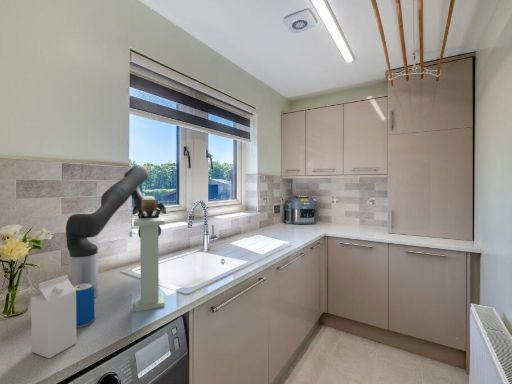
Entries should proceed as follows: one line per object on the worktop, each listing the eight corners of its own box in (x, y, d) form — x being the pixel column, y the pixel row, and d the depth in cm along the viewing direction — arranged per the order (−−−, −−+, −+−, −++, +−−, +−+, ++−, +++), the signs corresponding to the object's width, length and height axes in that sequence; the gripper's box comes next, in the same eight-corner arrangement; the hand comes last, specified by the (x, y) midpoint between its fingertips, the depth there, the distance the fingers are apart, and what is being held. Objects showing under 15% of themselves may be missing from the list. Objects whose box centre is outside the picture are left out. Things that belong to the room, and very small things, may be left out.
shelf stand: (164, 308, 93) (164, 220, 92) (134, 313, 89) (133, 221, 88) (163, 297, 101) (163, 217, 101) (135, 302, 98) (135, 218, 97)
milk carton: (31, 352, 68) (30, 281, 67) (60, 337, 75) (59, 273, 74) (48, 359, 65) (47, 285, 65) (76, 343, 72) (76, 276, 72)
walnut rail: (156, 210, 92) (156, 199, 92) (141, 210, 90) (141, 199, 90) (156, 207, 107) (156, 197, 107) (142, 207, 105) (142, 197, 105)
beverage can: (90, 315, 87) (90, 281, 87) (97, 322, 83) (97, 285, 83) (67, 323, 82) (67, 286, 82) (74, 331, 78) (73, 292, 78)
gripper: (132, 211, 114) (130, 192, 100) (166, 210, 119) (168, 192, 105) (131, 227, 110) (129, 210, 96) (166, 225, 116) (168, 209, 102)
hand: (149, 201), depth 101 cm, fingers closed on walnut rail, 3 cm apart
